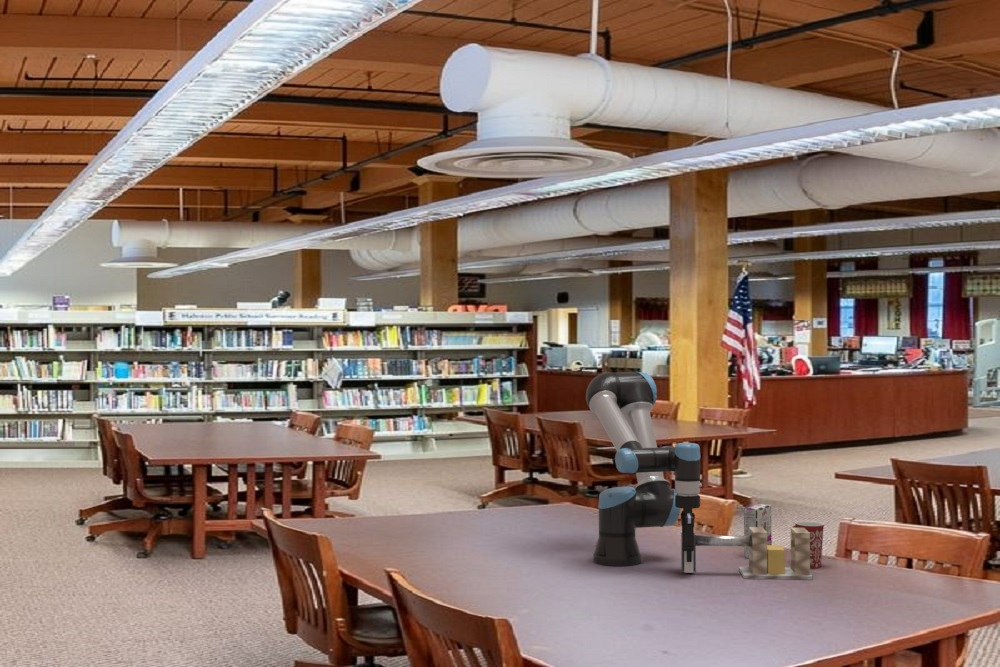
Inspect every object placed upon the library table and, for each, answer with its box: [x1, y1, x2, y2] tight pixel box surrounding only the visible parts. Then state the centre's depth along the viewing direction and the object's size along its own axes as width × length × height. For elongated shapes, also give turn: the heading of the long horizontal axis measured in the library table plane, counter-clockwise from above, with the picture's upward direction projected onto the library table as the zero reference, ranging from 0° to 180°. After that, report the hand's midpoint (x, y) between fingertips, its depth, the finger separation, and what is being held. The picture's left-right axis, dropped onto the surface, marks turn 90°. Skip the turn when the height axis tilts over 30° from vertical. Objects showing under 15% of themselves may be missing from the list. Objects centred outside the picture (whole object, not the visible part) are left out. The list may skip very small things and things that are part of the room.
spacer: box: [767, 544, 786, 574], centre depth 358 cm, size 5×8×7 cm, turn 175°
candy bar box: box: [743, 503, 773, 559], centre depth 388 cm, size 11×5×16 cm, turn 143°
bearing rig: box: [738, 527, 813, 581], centre depth 358 cm, size 20×13×14 cm, turn 85°
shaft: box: [680, 532, 752, 573], centre depth 359 cm, size 24×4×11 cm, turn 85°
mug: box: [791, 520, 825, 569], centre depth 373 cm, size 13×9×14 cm
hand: (687, 569), depth 360 cm, fingers open, 8 cm apart
